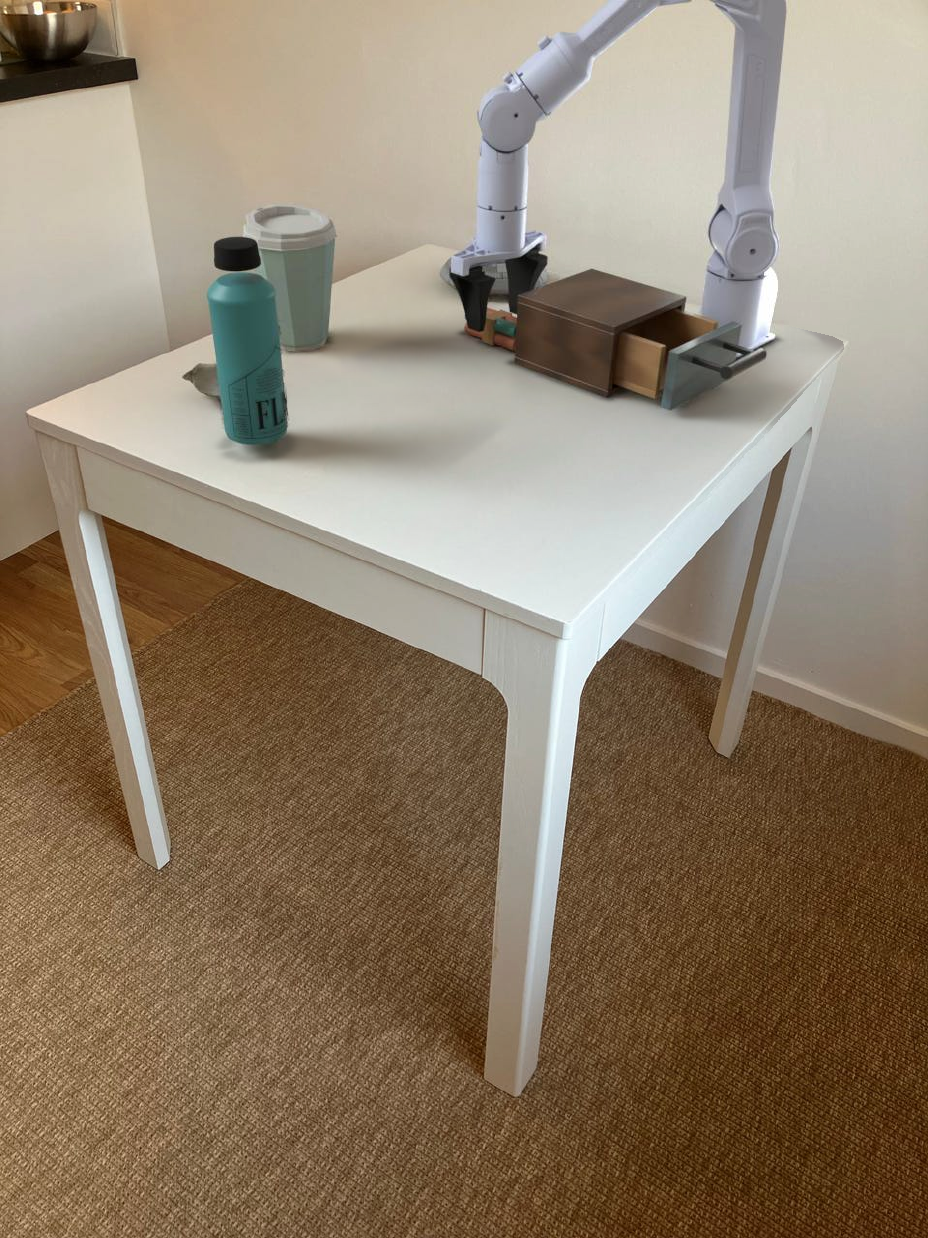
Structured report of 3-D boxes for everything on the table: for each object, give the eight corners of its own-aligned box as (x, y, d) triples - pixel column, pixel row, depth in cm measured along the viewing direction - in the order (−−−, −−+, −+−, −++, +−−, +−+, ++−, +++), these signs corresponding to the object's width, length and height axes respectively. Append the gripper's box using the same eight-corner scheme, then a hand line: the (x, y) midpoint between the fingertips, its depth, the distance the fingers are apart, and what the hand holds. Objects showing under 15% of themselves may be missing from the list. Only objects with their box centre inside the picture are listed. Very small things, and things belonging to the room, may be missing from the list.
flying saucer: (512, 311, 136) (514, 269, 133) (418, 288, 143) (418, 247, 139) (567, 280, 146) (570, 240, 143) (477, 260, 153) (478, 221, 150)
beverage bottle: (261, 466, 101) (239, 256, 89) (210, 448, 103) (182, 242, 92) (304, 440, 105) (288, 237, 93) (254, 424, 108) (232, 225, 96)
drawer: (770, 390, 115) (782, 335, 111) (709, 425, 108) (719, 367, 104) (641, 347, 125) (648, 295, 121) (577, 376, 117) (582, 321, 114)
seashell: (239, 427, 111) (278, 384, 116) (237, 405, 109) (276, 362, 113) (173, 401, 113) (214, 359, 117) (169, 379, 110) (211, 337, 115)
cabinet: (676, 364, 123) (686, 296, 118) (607, 398, 115) (614, 326, 110) (585, 333, 130) (591, 268, 126) (514, 362, 122) (517, 294, 118)
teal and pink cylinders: (463, 334, 129) (464, 309, 127) (481, 327, 131) (482, 302, 129) (512, 352, 125) (513, 326, 123) (530, 345, 127) (531, 319, 125)
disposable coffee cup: (360, 338, 127) (355, 211, 118) (304, 367, 120) (294, 234, 111) (293, 320, 132) (283, 196, 123) (235, 347, 125) (220, 217, 116)
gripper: (517, 186, 125) (511, 298, 133) (432, 209, 116) (431, 327, 124) (562, 198, 121) (554, 313, 129) (478, 222, 113) (474, 343, 121)
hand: (496, 321), depth 127 cm, fingers open, 7 cm apart
